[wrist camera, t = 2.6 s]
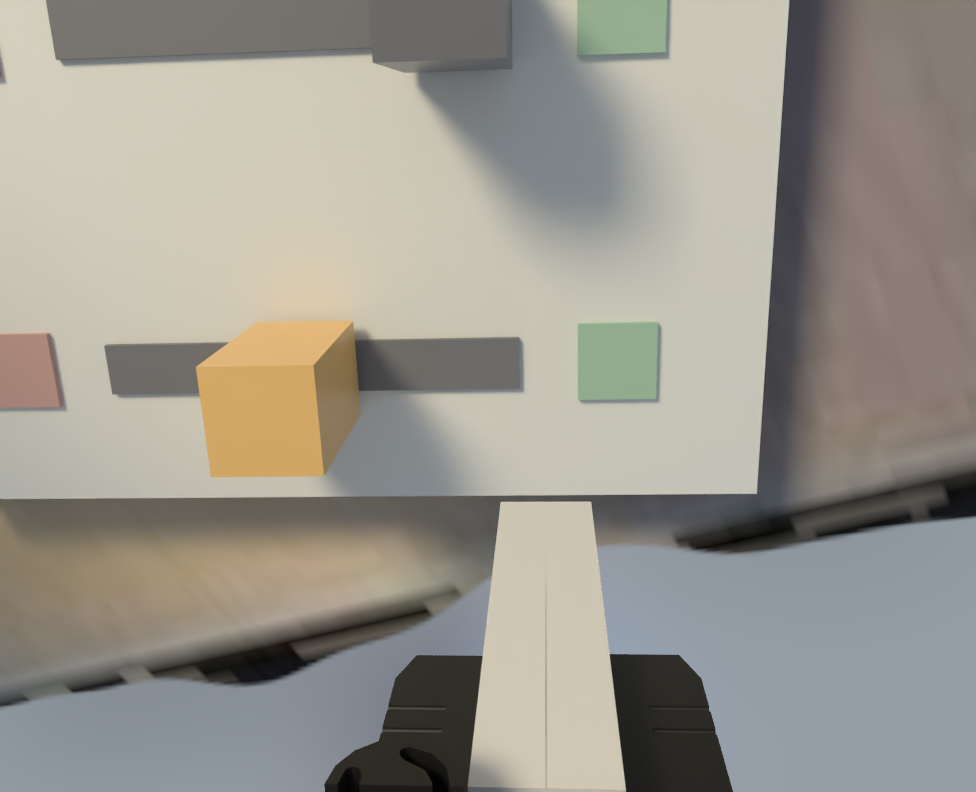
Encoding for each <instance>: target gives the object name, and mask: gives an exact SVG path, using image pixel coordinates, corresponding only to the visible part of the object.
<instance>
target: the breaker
mask: <svg viewBox="0 0 976 792" xmlns="http://www.w3.org/2000/svg"><path fill="white" fill-rule="evenodd" d="M369 15H370V30H371V45H372V60H373V63H375V64H378V65H381V66H384V67H388V68H391V69H394V70H397V71H400V72H403V73H416V72H443V71H471V70H498V69H513V67H512V21H511V0H369Z"/></svg>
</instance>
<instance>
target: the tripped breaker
mask: <svg viewBox="0 0 976 792" xmlns="http://www.w3.org/2000/svg"><path fill="white" fill-rule="evenodd" d="M196 372H197V379H198V387H199V394H200V401H201V408H202V416H203V423H204V430H205V438H206V445H207V452H208V459H209V467H210V474H211V477H304V476H324V475H325V474H326V472H327V470H328V469H329V467H330V465H331V464H332V462H333V460H334V459H335V457H336V455H337V453H338V452H339V450H340V448H341V447H342V445H343V443H344V442H345V440H346V438H347V436H348V435H349V433H350V431H351V430H352V428H353V426H354V425H355V423H356V421H357V420H358V418H359V416H360V414H361V411H360V399H359V386H358V374H357V361H356V348H355V336H354V323H353V321H305V322H256V323H255V324H253V325H252V326H251V327H249V328H248V329H247V330H245V331H244V332H243V333H241V334H240V335H239V336H237V337H236V338H234V339H233V340H232V341H230V342H229V343H228V344H226V345H225V346H224V347H222V348H221V349H220V350H218V351H217V352H216V353H214V354H213V355H211V356H210V357H209V358H207V359H206V360H205V361H203V362H202V363H201V364H199V365H198V366H197V367H196Z"/></svg>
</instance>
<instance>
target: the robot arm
mask: <svg viewBox="0 0 976 792" xmlns="http://www.w3.org/2000/svg"><path fill="white" fill-rule="evenodd" d="M325 792H733V790H732V787H731V783H730V780H729V776H728V773H727V769H726V765H725V762H724V758H723V755H722V751H721V748H720V744H719V740H718V737H717V735H716V733H715V726H714V722H713V719H712V715H711V712H709V705H708V701H707V698H706V694H705V691H704V687H703V683H702V680H701V678H700V677H699V676H698V675H697V674H696V673H695V671H694V670H693V669H692V668H691V667H690V666H689V665H688V664H687V663H686V662H685V661H684V660H683V659H682V658H681V657H680V656H679V655H627V654H624V655H622V654H618V655H617V654H609V646H608V638H607V629H606V621H605V613H604V605H603V596H602V588H601V580H600V572H599V563H598V556H597V547H596V538H595V530H594V522H593V514H592V505H591V502H501V503H500V511H499V520H498V529H497V537H496V546H495V555H494V563H493V572H492V581H491V589H490V599H489V607H488V616H487V624H486V632H485V641H484V650H483V656H431V655H430V656H429V655H428V656H427V655H417V656H416V657H415V658H414V659H413V660H412V661H411V662H410V663H409V665H408V666H407V667H406V668H405V669H404V670H403V671H402V672H401V673H400V674H399V675H398V676H397V677H396V679H395V683H394V686H393V690H392V694H391V698H390V701H389V708H388V711H387V713H386V716H385V720H384V724H383V731H382V733H381V735H380V739H379V741H378V742H376V743H373V744H371V745H368V746H365V747H363V748H360V749H358V750H355V751H354V752H352V753H351V754H350V755H349V756H347V757H346V758H345V759H343V760H342V761H341V762H340V763H338V764H337V765H336V766H335V768H334V769H333V771H332V772H331V774H330V776H329V778H328V779H327V781H326V783H325Z"/></svg>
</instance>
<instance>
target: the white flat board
mask: <svg viewBox="0 0 976 792" xmlns="http://www.w3.org/2000/svg"><path fill="white" fill-rule="evenodd" d="M788 12H789V0H511V21H512V67H513V69H498V70H471V71H443V72H416V73H403V72H400V71H397V70H394V69H391V68H388V67H384V66H381V65H378V64H375V63H373V60H372V45H371V30H370V15H369V0H0V499H96V498H235V497H374V496H513V495H652V494H757V481H758V466H759V451H760V436H761V421H762V406H763V391H764V376H765V360H766V345H767V330H768V315H769V300H770V285H771V270H772V254H773V239H774V224H775V209H776V194H777V179H778V164H779V148H780V133H781V118H782V103H783V88H784V73H785V58H786V42H787V27H788ZM305 321H353V323H354V336H355V348H356V361H357V374H358V386H359V399H360V411H361V414H360V416H359V418H358V420H357V421H356V423H355V425H354V426H353V428H352V430H351V431H350V433H349V435H348V436H347V438H346V440H345V442H344V443H343V445H342V447H341V448H340V450H339V452H338V453H337V455H336V457H335V459H334V460H333V462H332V464H331V465H330V467H329V469H328V470H327V472H326V474H325V475H324V476H304V477H211V474H210V467H209V459H208V452H207V445H206V438H205V430H204V423H203V416H202V408H201V401H200V394H199V387H198V379H197V372H196V367H197V366H198V365H199V364H201V363H202V362H203V361H205V360H206V359H207V358H209V357H210V356H211V355H213V354H214V353H216V352H217V351H218V350H220V349H221V348H222V347H224V346H225V345H226V344H228V343H229V342H230V341H232V340H233V339H234V338H236V337H237V336H239V335H240V334H241V333H243V332H244V331H245V330H247V329H248V328H249V327H251V326H252V325H253V324H255V323H256V322H305Z"/></svg>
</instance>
